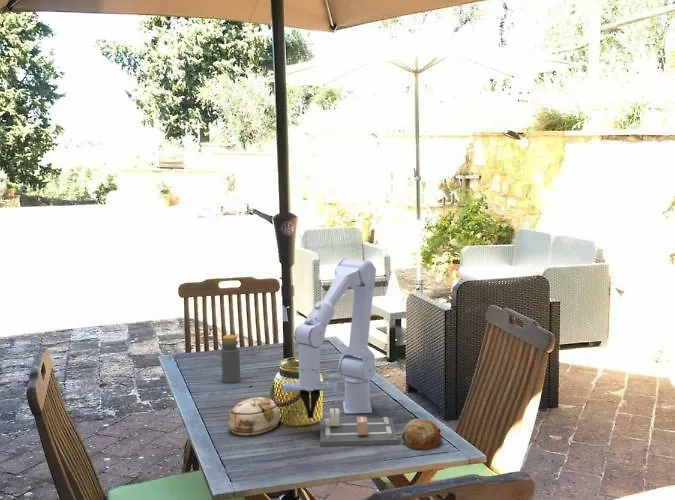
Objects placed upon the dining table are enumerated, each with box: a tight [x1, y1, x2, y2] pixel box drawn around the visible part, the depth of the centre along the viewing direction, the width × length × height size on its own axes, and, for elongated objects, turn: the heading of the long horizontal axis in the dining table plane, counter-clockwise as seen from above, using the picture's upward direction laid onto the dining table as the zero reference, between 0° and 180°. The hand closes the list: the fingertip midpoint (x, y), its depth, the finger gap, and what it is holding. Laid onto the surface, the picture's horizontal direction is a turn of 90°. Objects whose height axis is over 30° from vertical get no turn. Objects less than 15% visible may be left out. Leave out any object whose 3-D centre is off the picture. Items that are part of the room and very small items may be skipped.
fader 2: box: [356, 416, 367, 435], centre depth 201 cm, size 4×2×4 cm, turn 2°
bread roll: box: [401, 418, 442, 450], centre depth 199 cm, size 10×10×8 cm
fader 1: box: [329, 407, 341, 426], centre depth 208 cm, size 4×2×4 cm, turn 2°
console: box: [319, 416, 399, 447], centre depth 205 cm, size 16×20×2 cm
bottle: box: [220, 334, 241, 384], centre depth 253 cm, size 6×6×15 cm
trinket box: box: [227, 396, 281, 436], centre depth 211 cm, size 13×15×8 cm
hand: (310, 416), depth 208 cm, fingers closed
